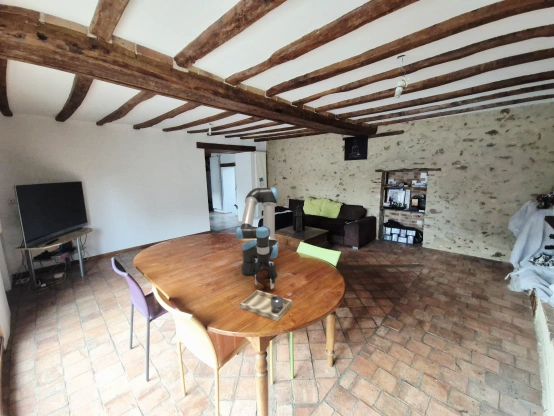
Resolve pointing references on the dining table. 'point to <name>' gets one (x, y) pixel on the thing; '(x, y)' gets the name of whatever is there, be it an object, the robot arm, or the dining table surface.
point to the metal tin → (276, 304)
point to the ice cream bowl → (263, 278)
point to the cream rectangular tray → (264, 305)
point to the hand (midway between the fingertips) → (264, 285)
